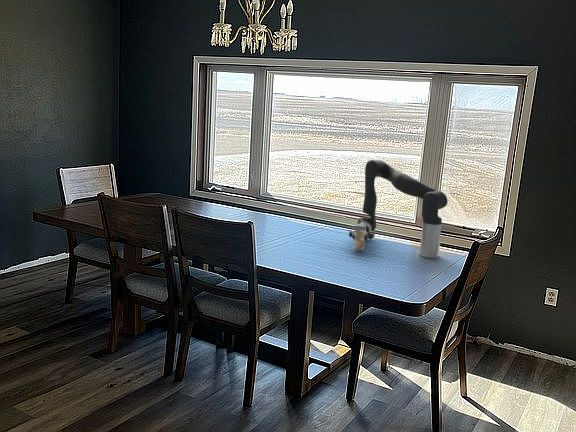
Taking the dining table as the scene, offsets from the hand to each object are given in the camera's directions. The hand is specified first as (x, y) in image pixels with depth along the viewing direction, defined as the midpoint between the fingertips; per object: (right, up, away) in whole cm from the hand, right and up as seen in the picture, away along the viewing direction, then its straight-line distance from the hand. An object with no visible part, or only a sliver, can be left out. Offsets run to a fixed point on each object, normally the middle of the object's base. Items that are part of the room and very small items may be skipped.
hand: (359, 237), depth 297 cm
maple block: (0, -5, +4) cm, 7 cm away
